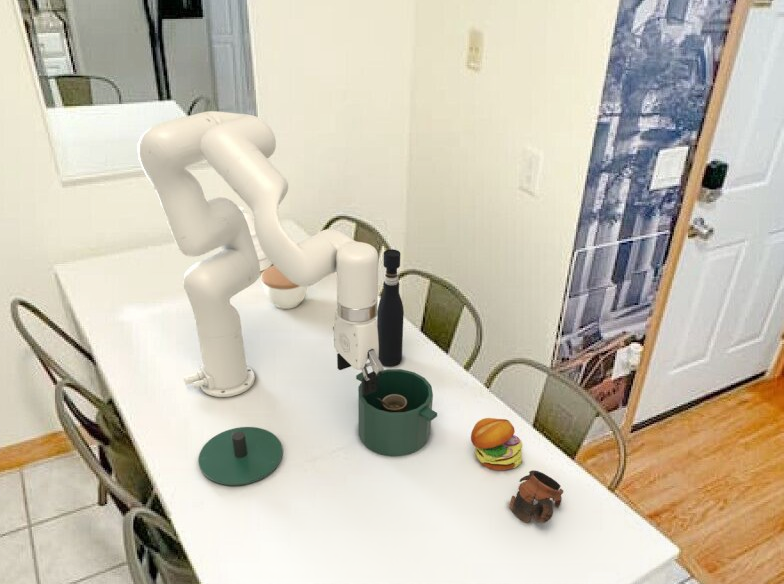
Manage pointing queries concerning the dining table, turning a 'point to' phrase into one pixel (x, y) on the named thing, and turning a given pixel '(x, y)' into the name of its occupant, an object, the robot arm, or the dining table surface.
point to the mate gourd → (394, 403)
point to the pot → (396, 414)
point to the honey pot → (256, 242)
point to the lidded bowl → (282, 289)
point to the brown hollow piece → (536, 497)
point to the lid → (240, 455)
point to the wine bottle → (390, 313)
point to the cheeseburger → (496, 444)
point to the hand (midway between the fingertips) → (357, 379)
